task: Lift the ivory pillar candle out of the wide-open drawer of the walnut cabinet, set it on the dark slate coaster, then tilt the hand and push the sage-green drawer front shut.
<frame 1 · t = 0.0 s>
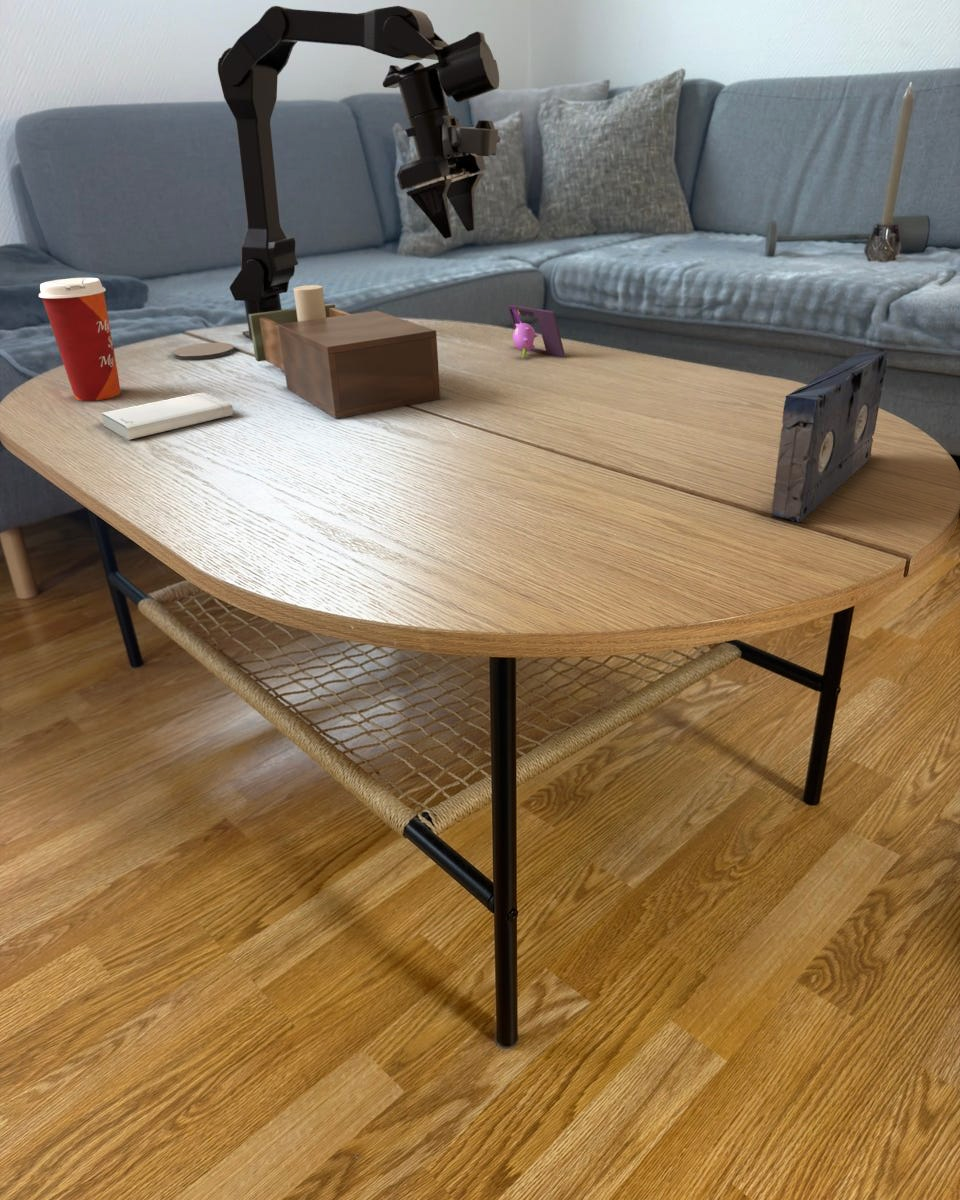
hand: (460, 234, 124), 15 cm above the table, tool pointing down, fingers open, 9 cm apart
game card: (530, 356, 124), on the table
candle: (316, 356, 119), point 2 cm above the table, touching drawer
paper cup: (98, 396, 113), on the table
drawer: (308, 338, 120), point 4 cm above the table, slide at 13.5 cm, touching candle
coaster: (204, 353, 133), on the table
vhs cassette tape: (823, 488, 76), on the table
cabinet: (361, 393, 109), on the table
hard drive: (169, 422, 101), on the table
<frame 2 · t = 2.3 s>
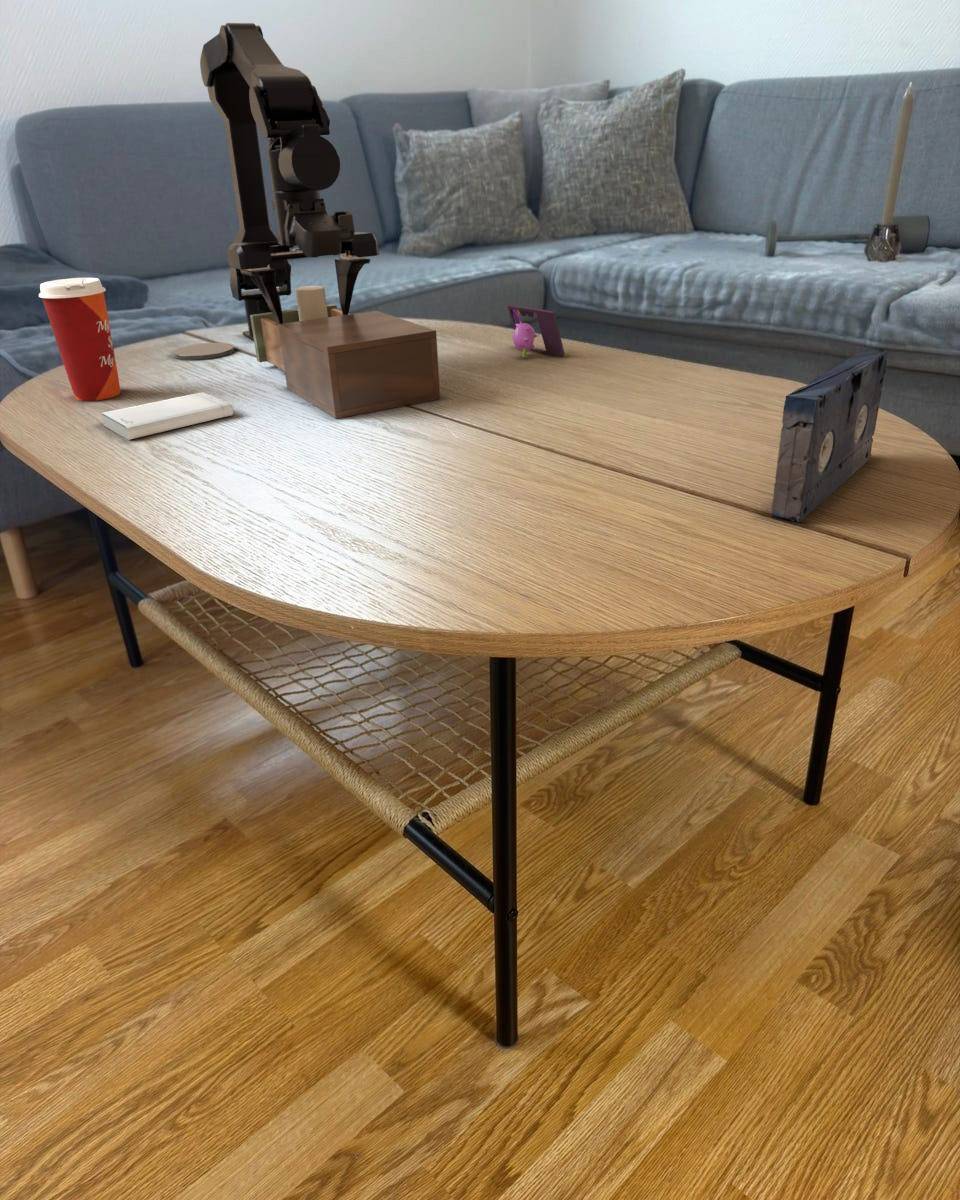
hand: (313, 319, 116), 7 cm above the table, tool pointing down
drawer: (309, 338, 119), point 4 cm above the table, slide at 12.8 cm, touching candle, gripper
everything else where it was.
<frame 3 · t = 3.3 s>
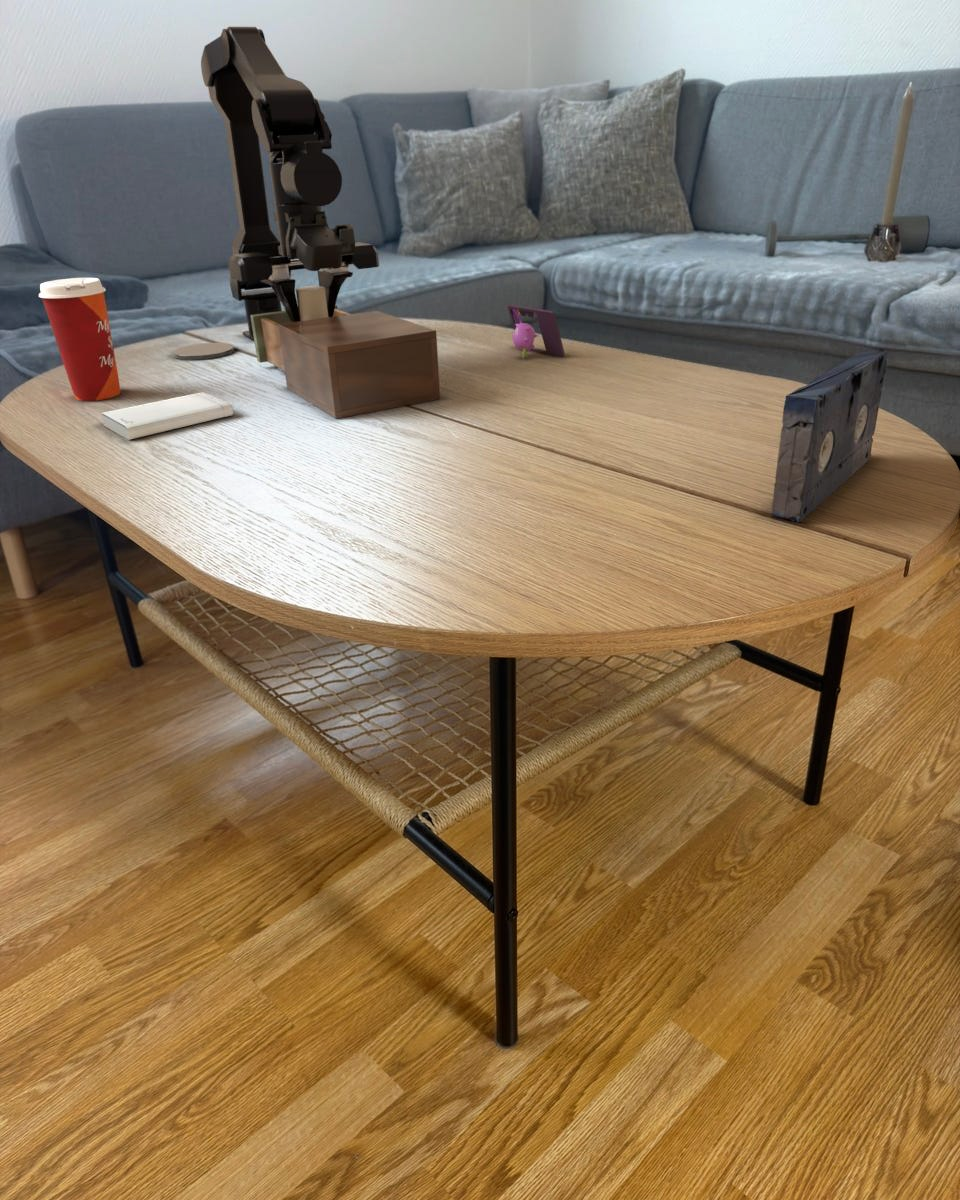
hand: (313, 329, 117), 6 cm above the table, tool pointing down, fingers closed on candle, 4 cm apart
candle: (318, 357, 118), point 2 cm above the table, touching drawer, gripper
drawer: (310, 339, 119), point 4 cm above the table, slide at 12.6 cm, touching candle
everything else where it was.
when the fingers open (4 cm above the table, at t = 9.0 s): candle stays where it is, resting on coaster.
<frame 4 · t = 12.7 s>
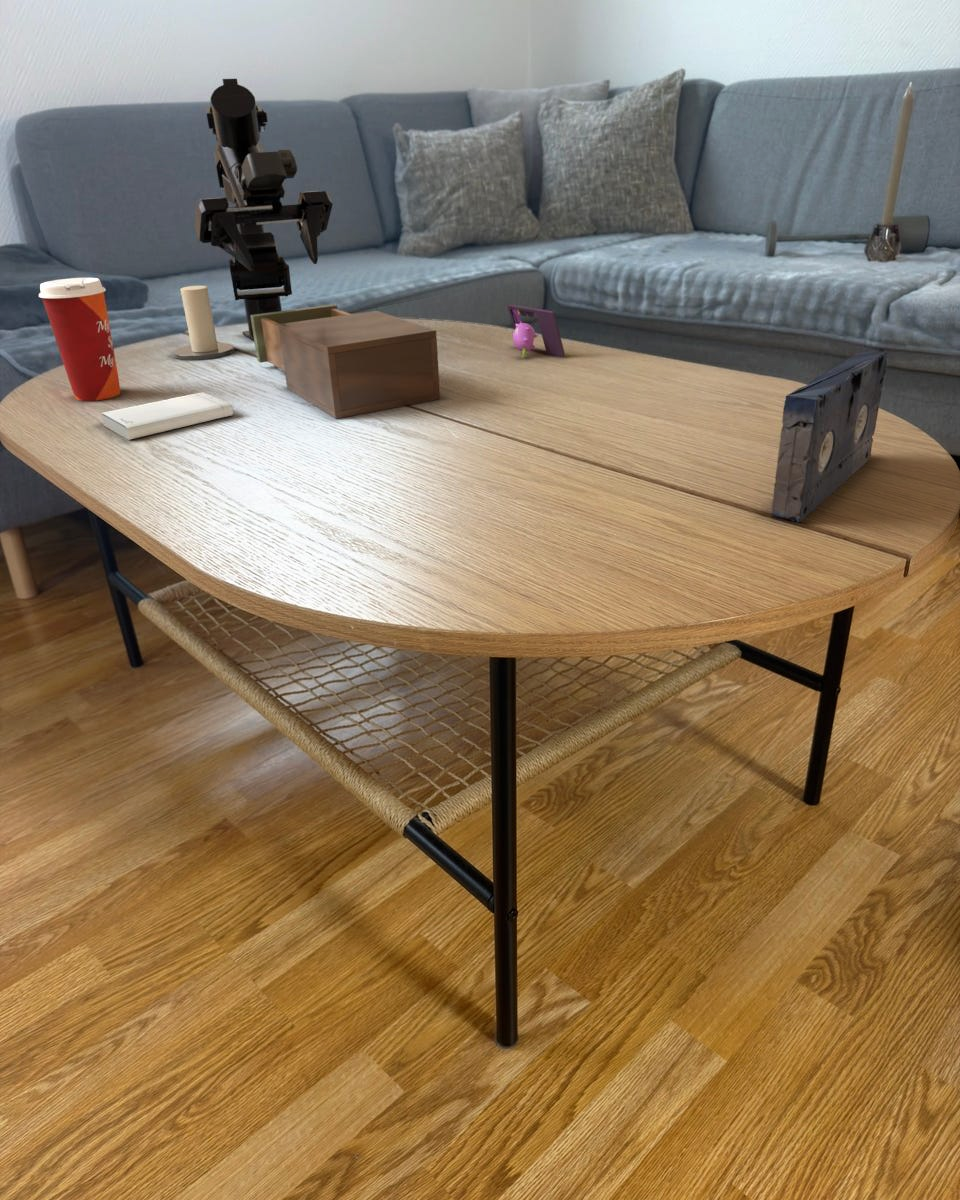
hand: (284, 265, 120), 13 cm above the table, tool tilted 45°, fingers open, 9 cm apart
candle: (205, 349, 132), point 1 cm above the table, touching coaster
drawer: (310, 339, 119), point 4 cm above the table, slide at 12.6 cm
everything else where it was.
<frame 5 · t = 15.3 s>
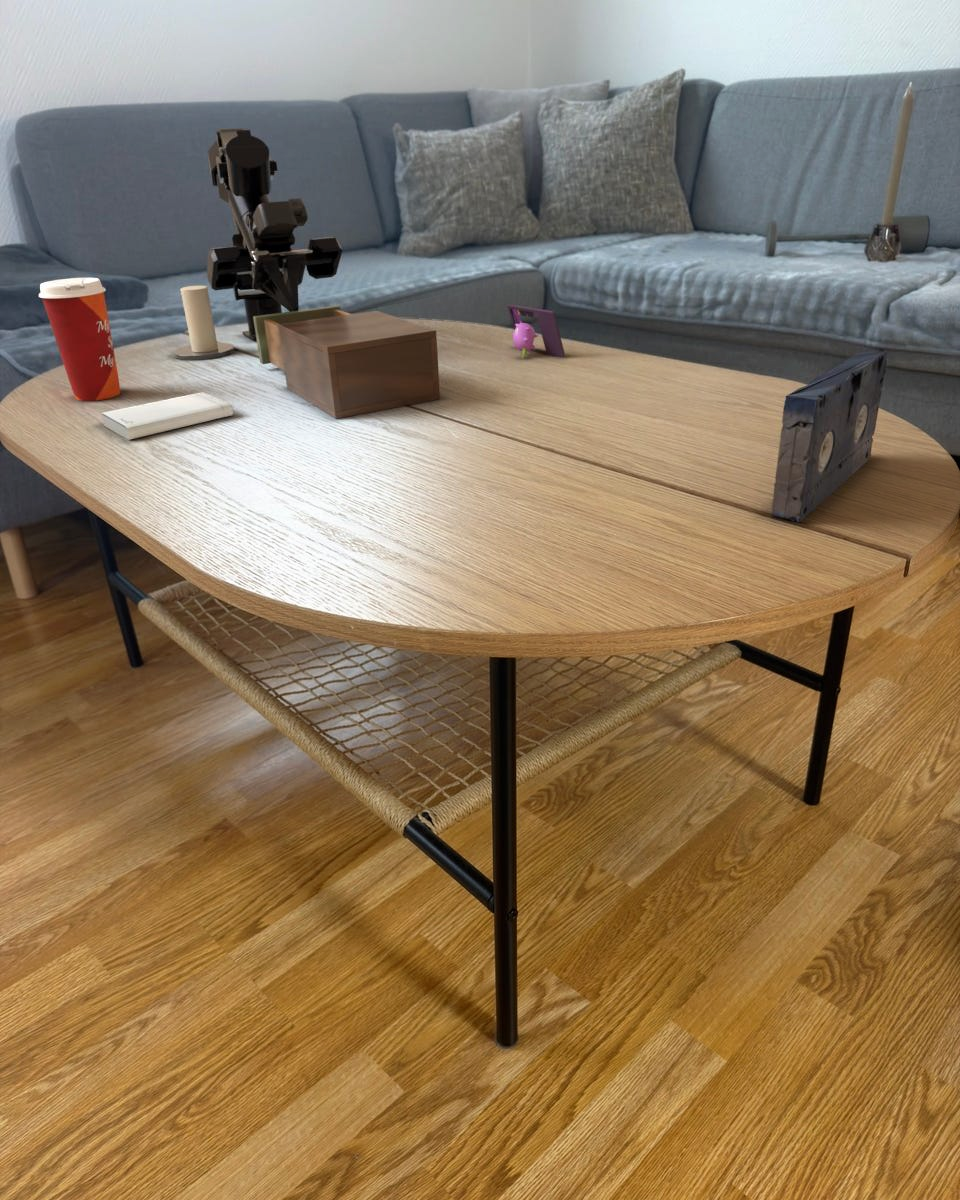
hand: (295, 311, 121), 7 cm above the table, tool tilted 45°, fingers closed, pressing on drawer
drawer: (313, 340, 118), point 4 cm above the table, slide at 11.4 cm, touching gripper
everything else where it was.
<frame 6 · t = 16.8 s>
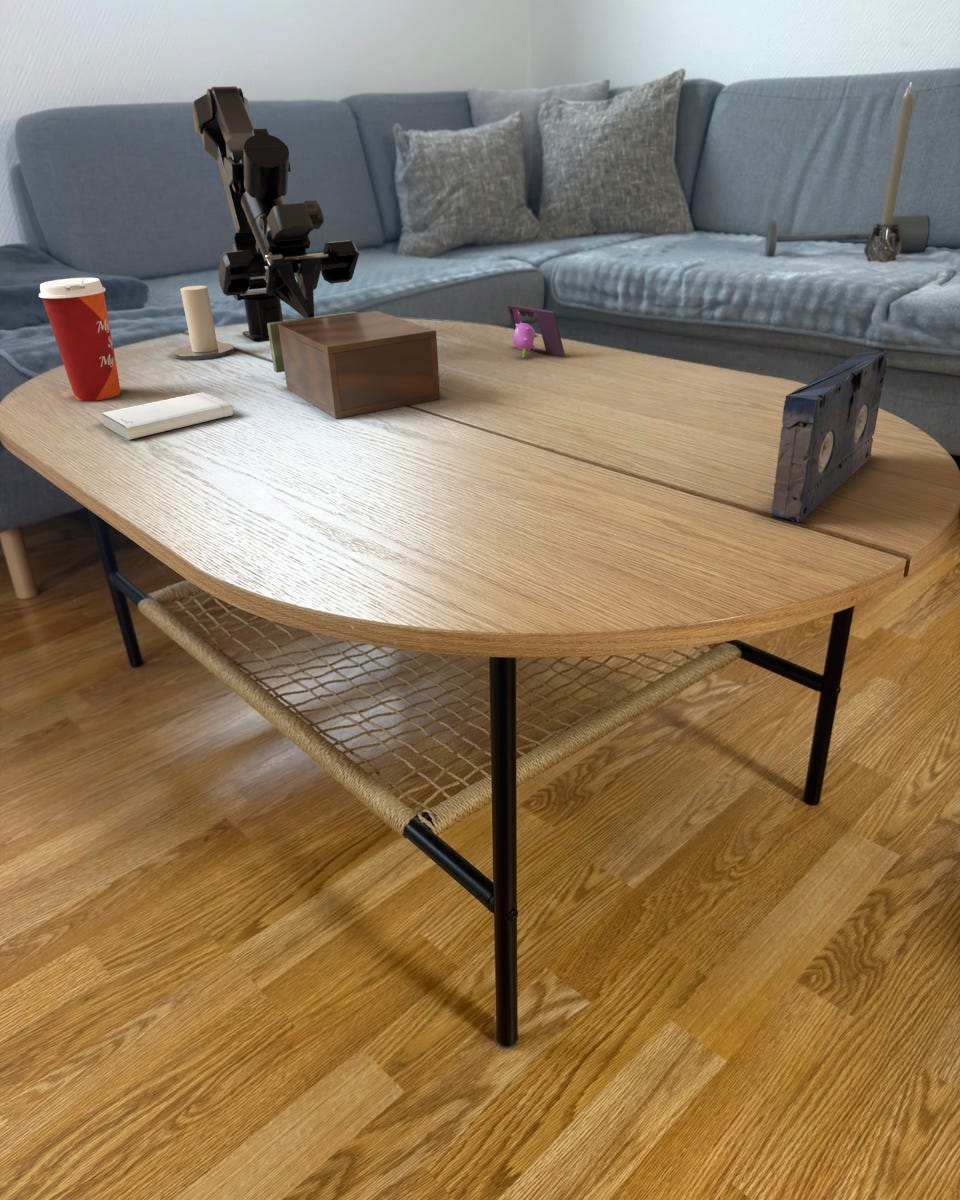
hand: (311, 317, 117), 7 cm above the table, tool tilted 45°, fingers closed, pressing on drawer
drawer: (330, 348, 114), point 4 cm above the table, slide at 5.4 cm, touching gripper
everything else where it was.
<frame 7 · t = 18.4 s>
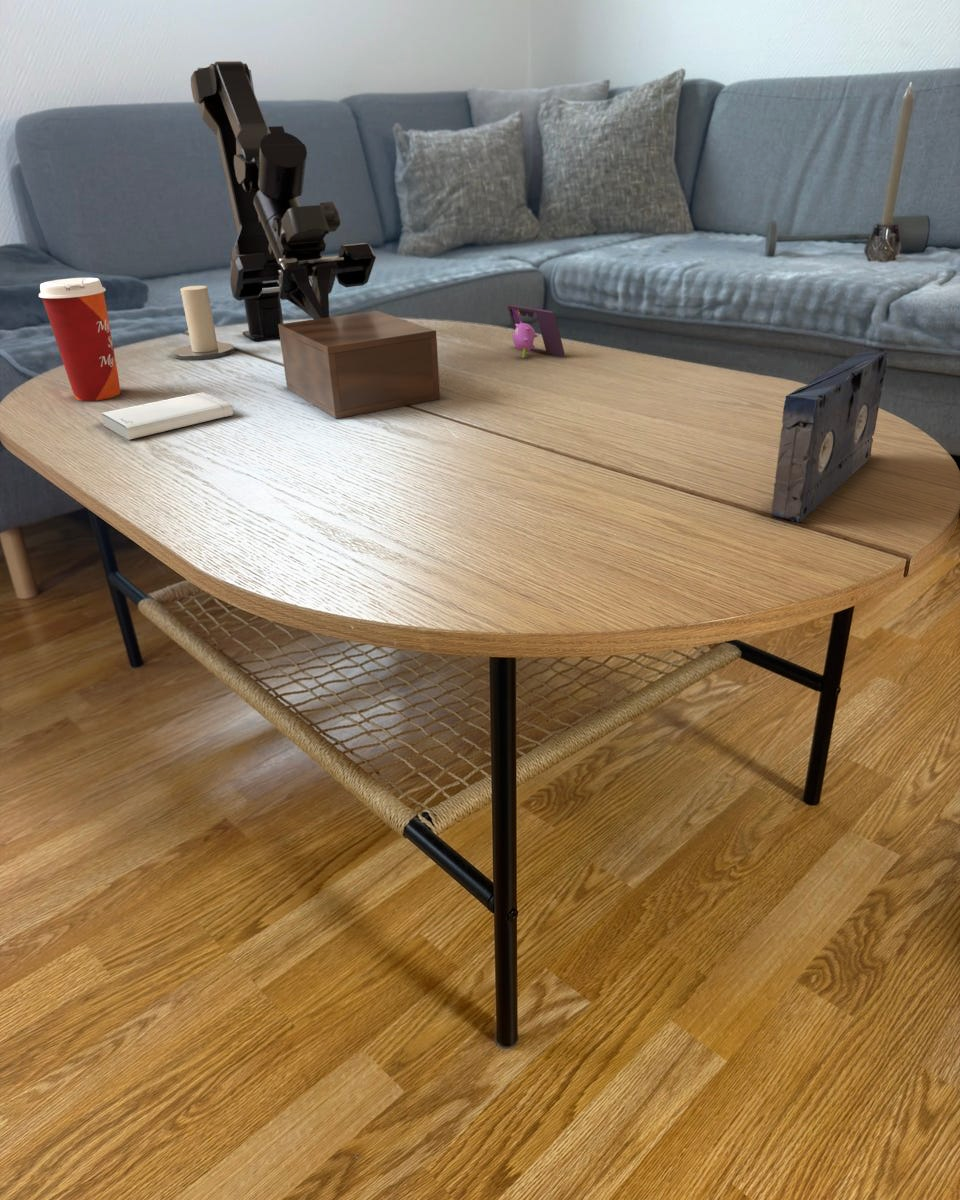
hand: (326, 324, 113), 7 cm above the table, tool tilted 45°, fingers closed, pressing on drawer
drawer: (346, 355, 110), point 4 cm above the table, slide at 0.0 cm, touching cabinet, gripper
everything else where it was.
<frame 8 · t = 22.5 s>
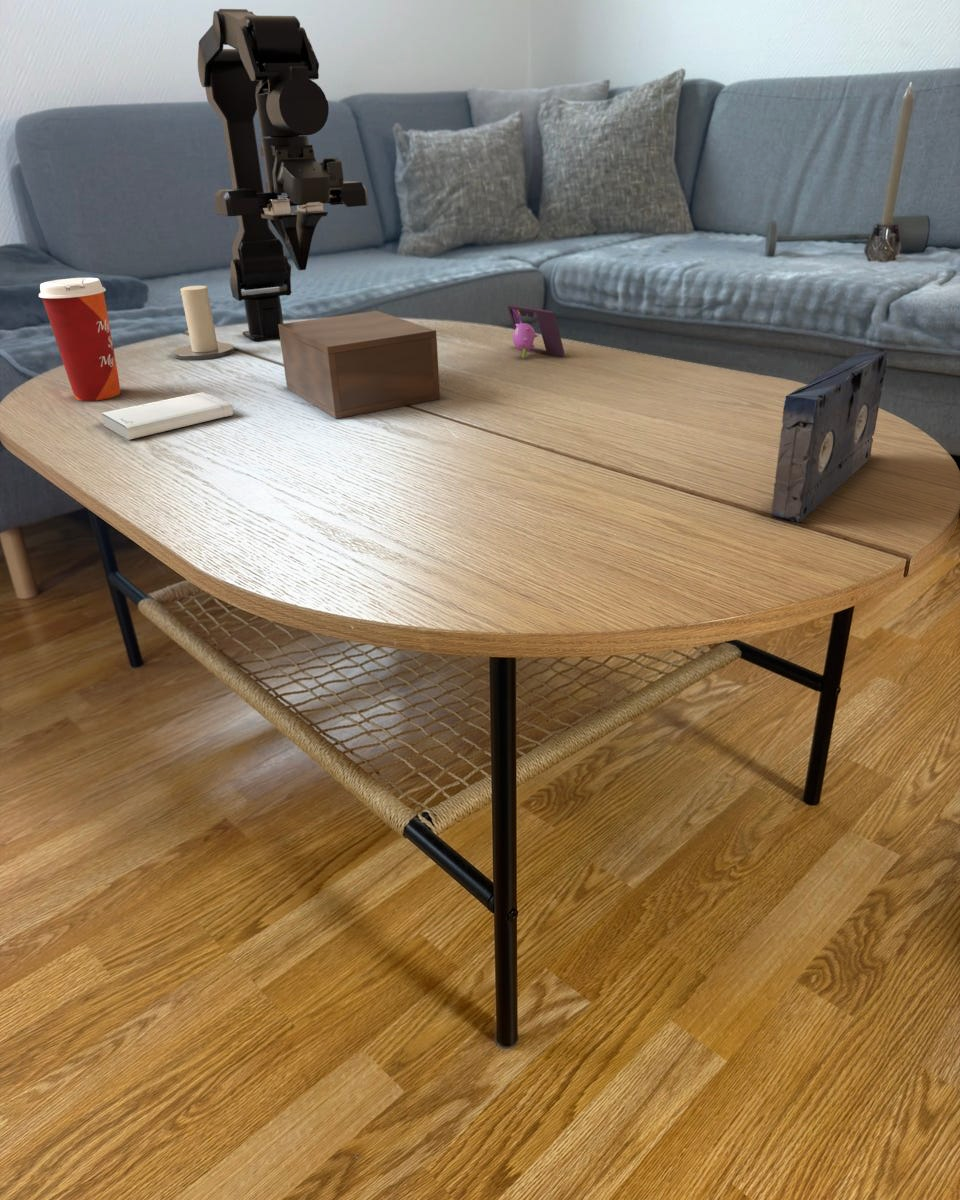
hand: (301, 270, 115), 13 cm above the table, tool pointing down, fingers closed
drawer: (346, 355, 110), point 4 cm above the table, slide at 0.0 cm, touching cabinet
everything else where it was.
at the end: candle 0.7 cm off-centre on the coaster, point 0.6 cm above the coaster's base; candle tilted 0°; drawer slide at 0.0 cm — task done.
